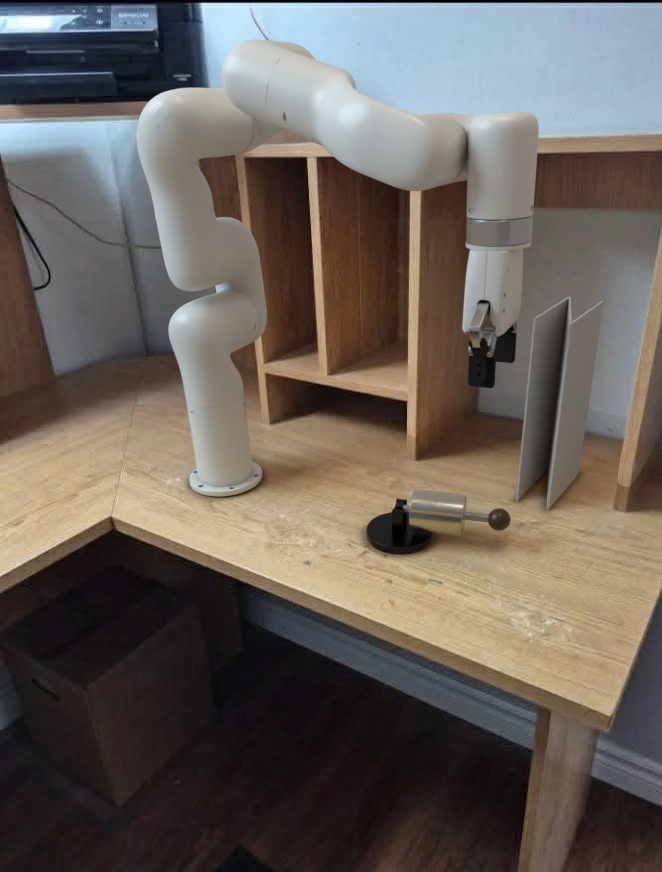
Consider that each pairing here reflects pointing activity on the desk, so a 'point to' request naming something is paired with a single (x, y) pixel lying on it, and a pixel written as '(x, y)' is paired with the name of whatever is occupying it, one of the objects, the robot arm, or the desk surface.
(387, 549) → the holder base
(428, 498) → the knobbed metal cylinder
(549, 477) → the brochure
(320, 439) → the desk surface
